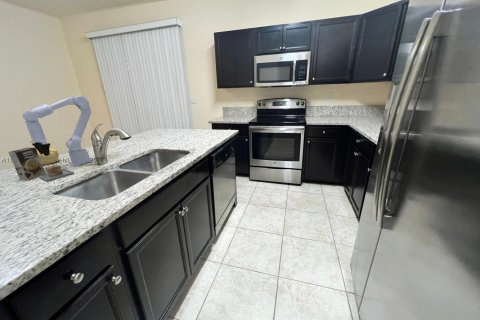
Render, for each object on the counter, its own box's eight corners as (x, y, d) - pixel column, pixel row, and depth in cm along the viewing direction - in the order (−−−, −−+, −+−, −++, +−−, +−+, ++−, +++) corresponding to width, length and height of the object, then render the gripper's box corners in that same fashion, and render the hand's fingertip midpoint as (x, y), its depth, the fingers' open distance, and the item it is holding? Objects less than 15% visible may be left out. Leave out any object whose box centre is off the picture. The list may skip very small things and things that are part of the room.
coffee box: (28, 180, 110) (16, 152, 104) (19, 179, 111) (7, 151, 106) (46, 173, 118) (36, 147, 113) (38, 173, 119) (27, 147, 114)
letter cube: (59, 172, 117) (56, 164, 115) (63, 173, 114) (60, 165, 113) (48, 175, 113) (45, 167, 111) (51, 177, 110) (48, 168, 109)
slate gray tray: (65, 170, 122) (64, 168, 121) (74, 173, 116) (73, 171, 115) (39, 177, 112) (38, 175, 112) (47, 182, 106) (46, 179, 106)
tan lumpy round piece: (41, 167, 130) (35, 151, 126) (35, 164, 136) (29, 149, 132) (63, 161, 139) (58, 146, 135) (56, 159, 145) (51, 144, 141)
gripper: (22, 132, 116) (32, 155, 121) (31, 134, 109) (40, 158, 114) (39, 130, 122) (47, 151, 127) (47, 132, 115) (56, 154, 119)
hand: (45, 154), depth 120 cm, fingers open, 7 cm apart
